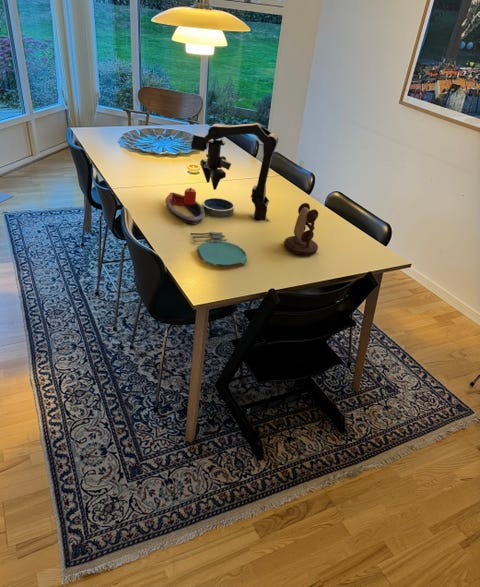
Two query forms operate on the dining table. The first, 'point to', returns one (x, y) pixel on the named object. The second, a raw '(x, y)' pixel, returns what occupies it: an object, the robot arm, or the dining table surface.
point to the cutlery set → (219, 251)
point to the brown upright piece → (303, 232)
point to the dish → (179, 201)
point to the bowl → (218, 207)
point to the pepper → (190, 196)
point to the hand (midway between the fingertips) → (211, 186)
